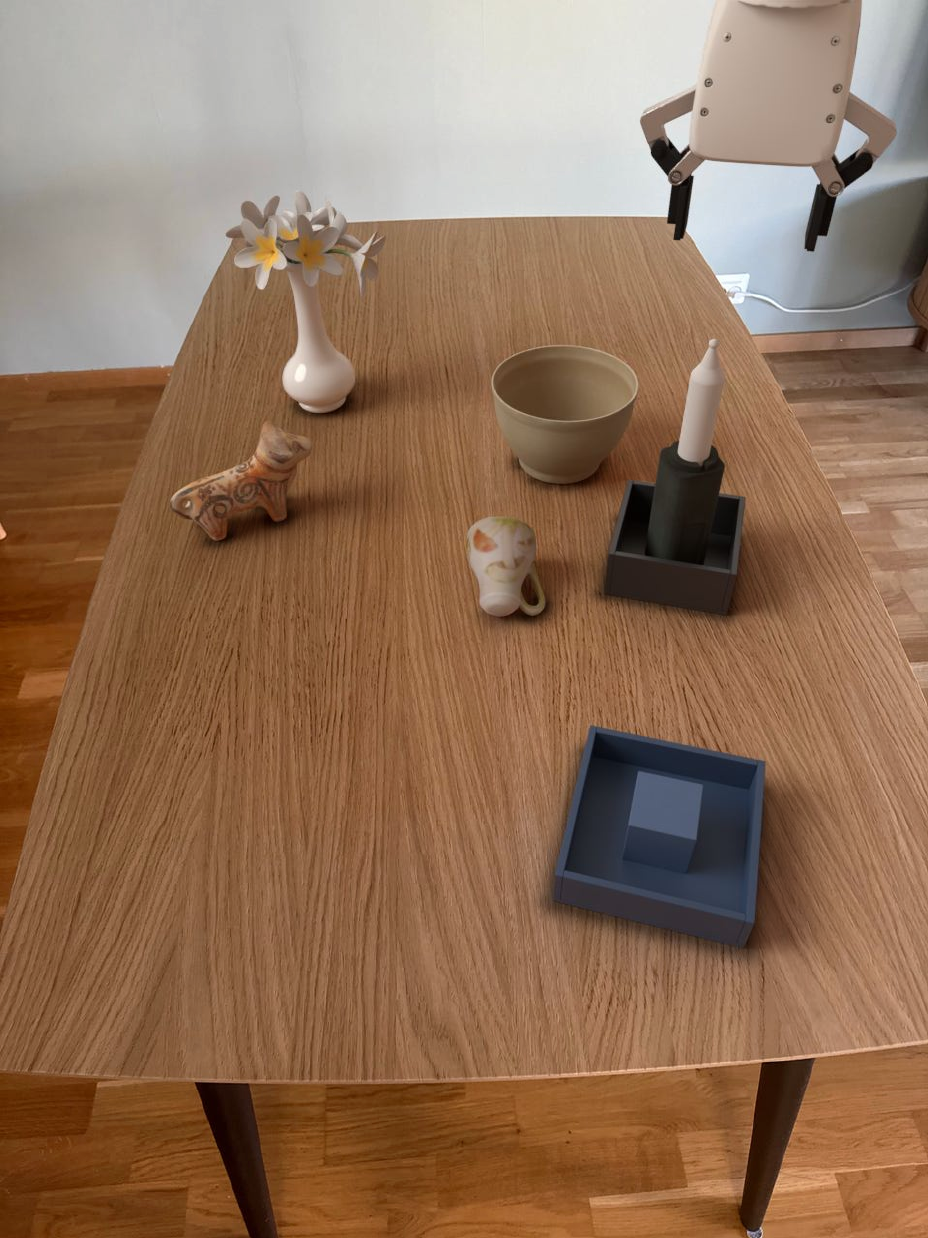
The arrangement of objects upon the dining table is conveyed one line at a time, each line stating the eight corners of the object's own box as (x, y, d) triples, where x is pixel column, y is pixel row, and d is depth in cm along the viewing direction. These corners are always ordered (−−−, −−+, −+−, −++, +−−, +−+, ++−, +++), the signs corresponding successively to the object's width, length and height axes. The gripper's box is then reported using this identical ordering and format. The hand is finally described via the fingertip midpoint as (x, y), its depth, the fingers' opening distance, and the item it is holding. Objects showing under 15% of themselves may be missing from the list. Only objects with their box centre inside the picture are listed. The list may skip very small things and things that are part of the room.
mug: (465, 632, 90) (445, 533, 87) (486, 602, 98) (468, 512, 96) (540, 623, 87) (522, 522, 85) (554, 593, 96) (538, 501, 94)
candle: (661, 580, 93) (700, 358, 75) (641, 548, 96) (673, 329, 78) (707, 569, 94) (756, 348, 76) (685, 539, 97) (727, 320, 79)
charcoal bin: (735, 537, 98) (745, 496, 94) (726, 615, 90) (737, 574, 86) (622, 519, 101) (627, 479, 97) (603, 594, 92) (608, 553, 88)
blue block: (693, 819, 73) (703, 784, 70) (686, 874, 70) (696, 840, 67) (631, 805, 74) (638, 770, 71) (621, 859, 71) (628, 824, 68)
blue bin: (755, 789, 76) (765, 761, 73) (743, 948, 66) (754, 923, 64) (586, 753, 79) (590, 724, 76) (552, 901, 69) (554, 875, 67)
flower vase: (389, 430, 114) (369, 229, 96) (245, 424, 115) (200, 225, 98) (405, 375, 123) (390, 182, 105) (272, 370, 124) (235, 179, 106)
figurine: (331, 514, 102) (318, 439, 95) (191, 560, 98) (166, 485, 90) (310, 482, 107) (296, 408, 100) (174, 524, 102) (150, 450, 95)
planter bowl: (651, 487, 104) (663, 405, 97) (517, 515, 101) (518, 433, 94) (597, 412, 115) (605, 333, 107) (475, 436, 112) (473, 356, 105)
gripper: (937, -43, 58) (862, 228, 70) (663, -48, 62) (637, 210, 74) (946, -17, 53) (864, 270, 65) (647, -23, 57) (622, 249, 69)
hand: (743, 238), depth 70 cm, fingers open, 9 cm apart
